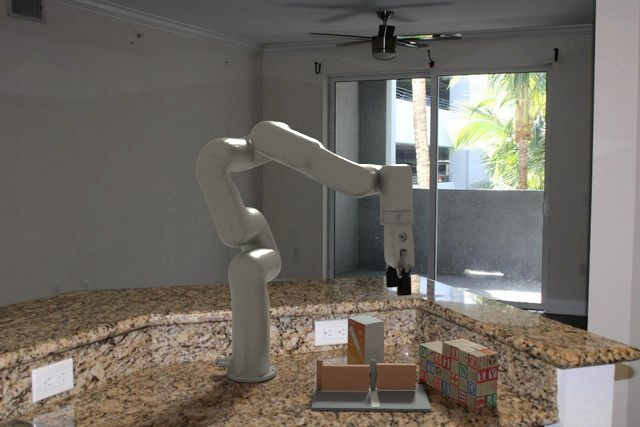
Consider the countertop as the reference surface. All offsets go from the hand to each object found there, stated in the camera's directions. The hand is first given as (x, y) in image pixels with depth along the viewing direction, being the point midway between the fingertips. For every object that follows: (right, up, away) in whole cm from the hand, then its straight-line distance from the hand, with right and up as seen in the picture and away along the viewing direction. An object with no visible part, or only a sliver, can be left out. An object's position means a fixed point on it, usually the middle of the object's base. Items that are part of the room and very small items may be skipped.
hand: (398, 291), depth 152 cm
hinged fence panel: (-1, -23, 0) cm, 23 cm away
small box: (-6, -22, +18) cm, 30 cm away
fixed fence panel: (-13, -23, +1) cm, 27 cm away
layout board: (-7, -24, -3) cm, 25 cm away
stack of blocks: (+14, -24, +1) cm, 28 cm away
